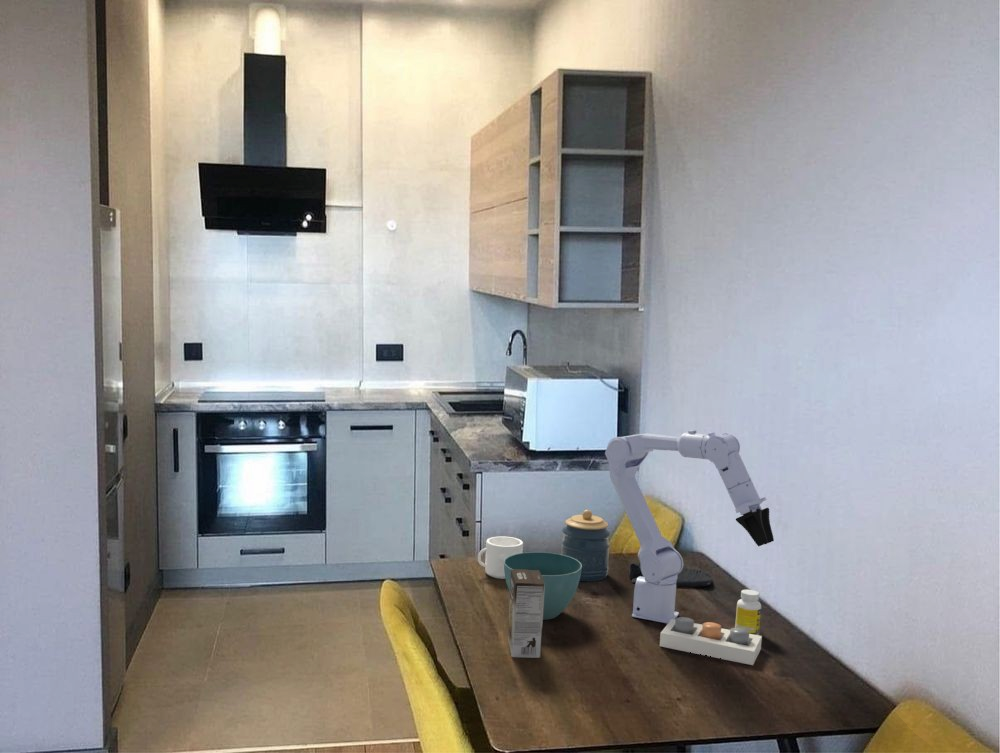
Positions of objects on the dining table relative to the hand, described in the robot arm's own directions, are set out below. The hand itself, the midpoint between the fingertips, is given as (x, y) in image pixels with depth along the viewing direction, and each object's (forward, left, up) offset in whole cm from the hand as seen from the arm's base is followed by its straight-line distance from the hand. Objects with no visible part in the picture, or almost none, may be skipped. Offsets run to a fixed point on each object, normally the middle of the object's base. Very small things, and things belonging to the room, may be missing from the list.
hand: (766, 543), depth 208 cm
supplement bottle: (-4, +8, -24) cm, 25 cm away
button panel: (-9, -5, -24) cm, 26 cm away
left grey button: (-15, -5, -21) cm, 27 cm away
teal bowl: (-49, -5, -24) cm, 55 cm away
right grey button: (-3, -5, -21) cm, 22 cm away
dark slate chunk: (-29, +38, -24) cm, 54 cm away
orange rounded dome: (-9, -5, -21) cm, 24 cm away
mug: (-69, +16, -24) cm, 75 cm away
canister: (-50, +29, -24) cm, 63 cm away
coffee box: (-44, -27, -24) cm, 57 cm away
